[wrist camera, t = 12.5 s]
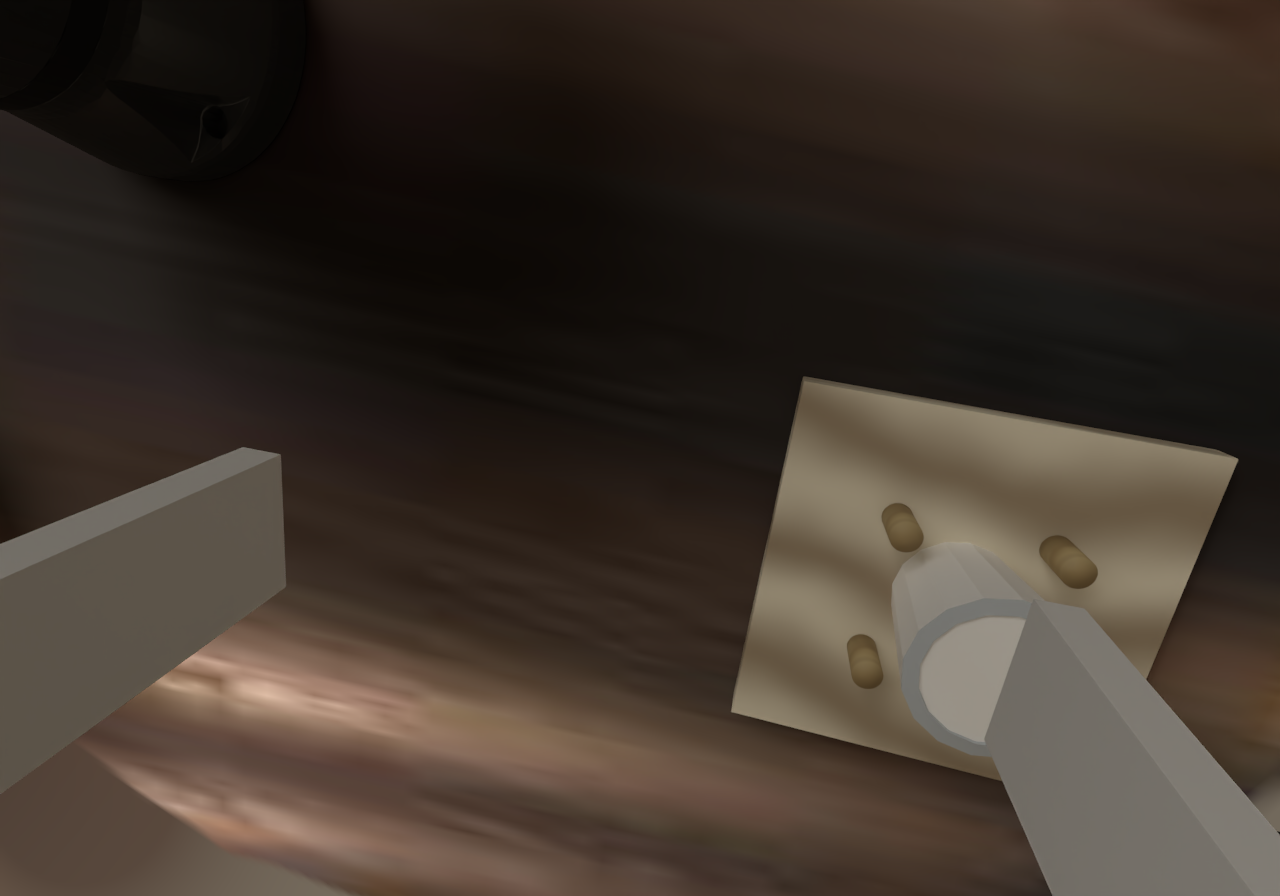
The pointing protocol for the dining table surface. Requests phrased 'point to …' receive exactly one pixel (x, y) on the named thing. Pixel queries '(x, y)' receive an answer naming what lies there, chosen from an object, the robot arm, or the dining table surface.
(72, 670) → the robot arm
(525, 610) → the dining table surface
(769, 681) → the pin board
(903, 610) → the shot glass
